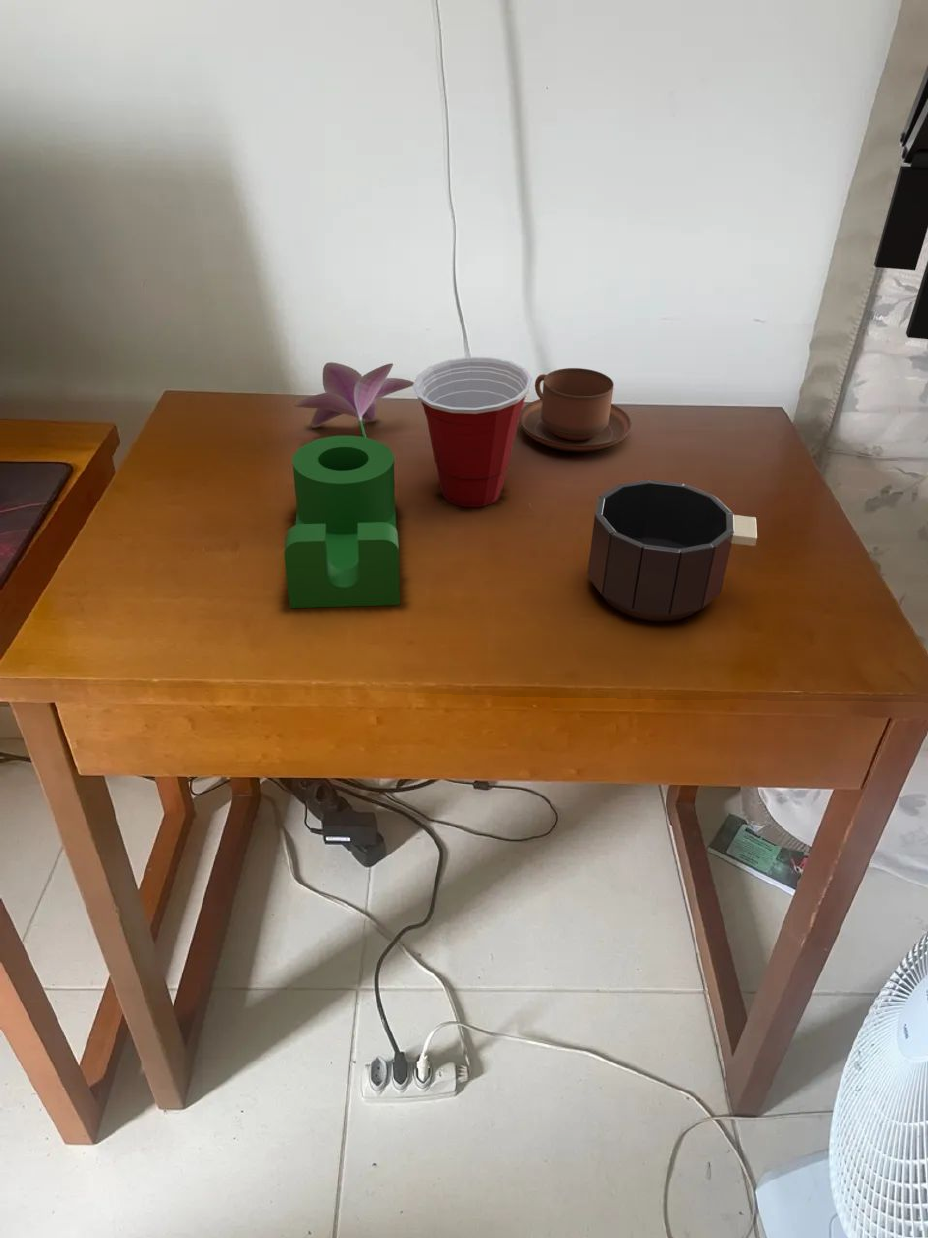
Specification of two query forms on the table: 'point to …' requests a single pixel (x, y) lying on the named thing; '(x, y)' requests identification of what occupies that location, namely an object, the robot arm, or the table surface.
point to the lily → (351, 393)
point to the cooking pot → (663, 546)
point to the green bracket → (343, 525)
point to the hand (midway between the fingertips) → (910, 299)
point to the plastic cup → (472, 423)
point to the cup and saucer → (575, 411)
